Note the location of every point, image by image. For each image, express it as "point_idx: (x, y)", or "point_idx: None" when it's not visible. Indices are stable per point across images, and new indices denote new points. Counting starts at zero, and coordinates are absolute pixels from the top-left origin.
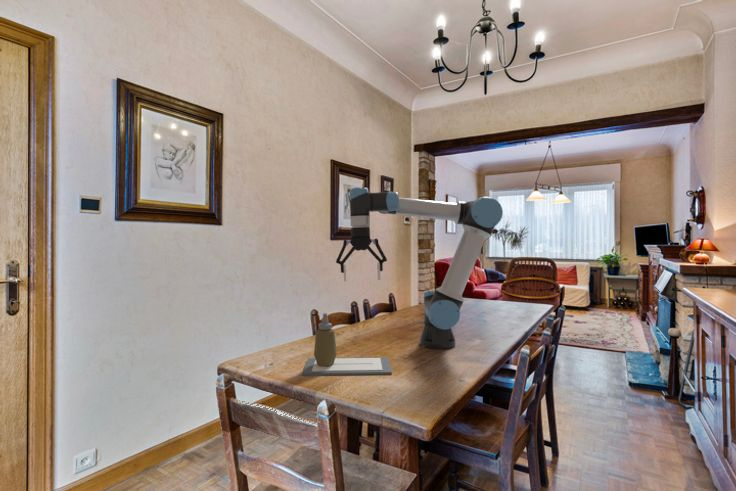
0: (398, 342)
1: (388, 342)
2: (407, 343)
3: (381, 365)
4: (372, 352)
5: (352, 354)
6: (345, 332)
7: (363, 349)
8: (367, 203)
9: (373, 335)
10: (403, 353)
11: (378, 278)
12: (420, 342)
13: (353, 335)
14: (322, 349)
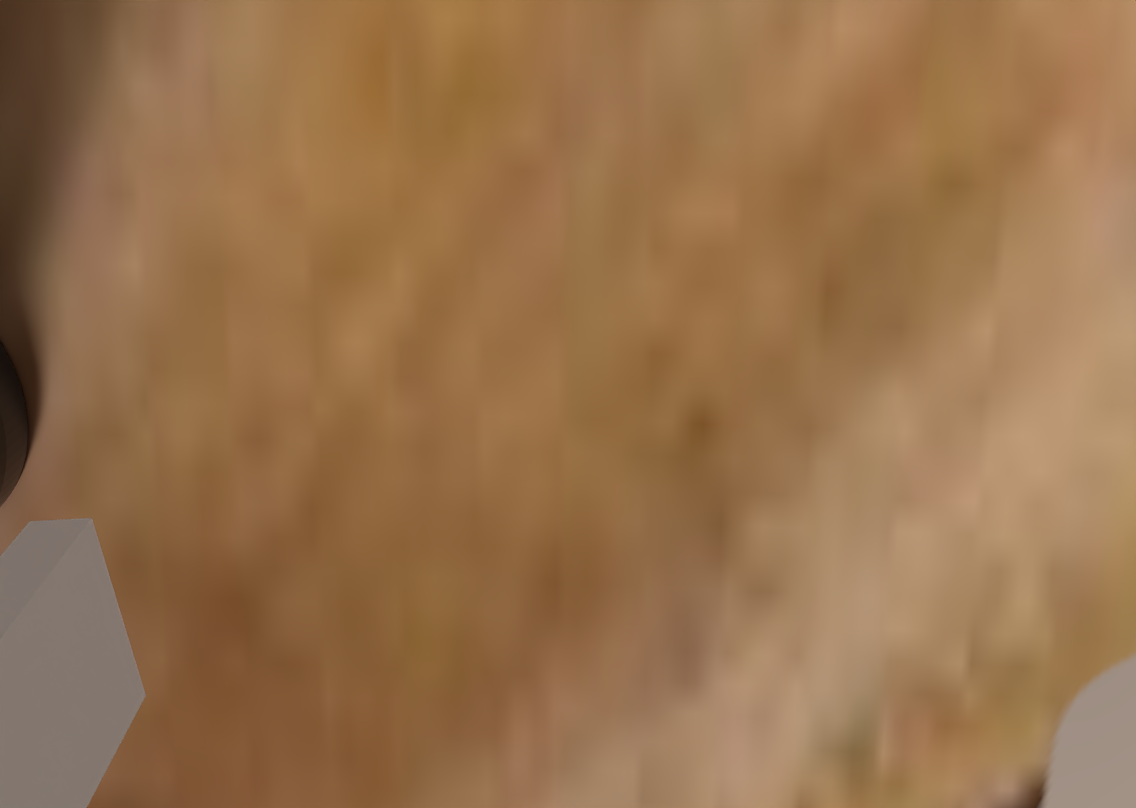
0: (249, 466)
1: (351, 470)
2: (156, 429)
3: None
4: (514, 125)
5: (738, 56)
6: (780, 803)
7: (612, 238)
8: None
9: (505, 699)
10: (176, 78)
11: (72, 545)
12: (7, 385)
13: (704, 708)
14: None
